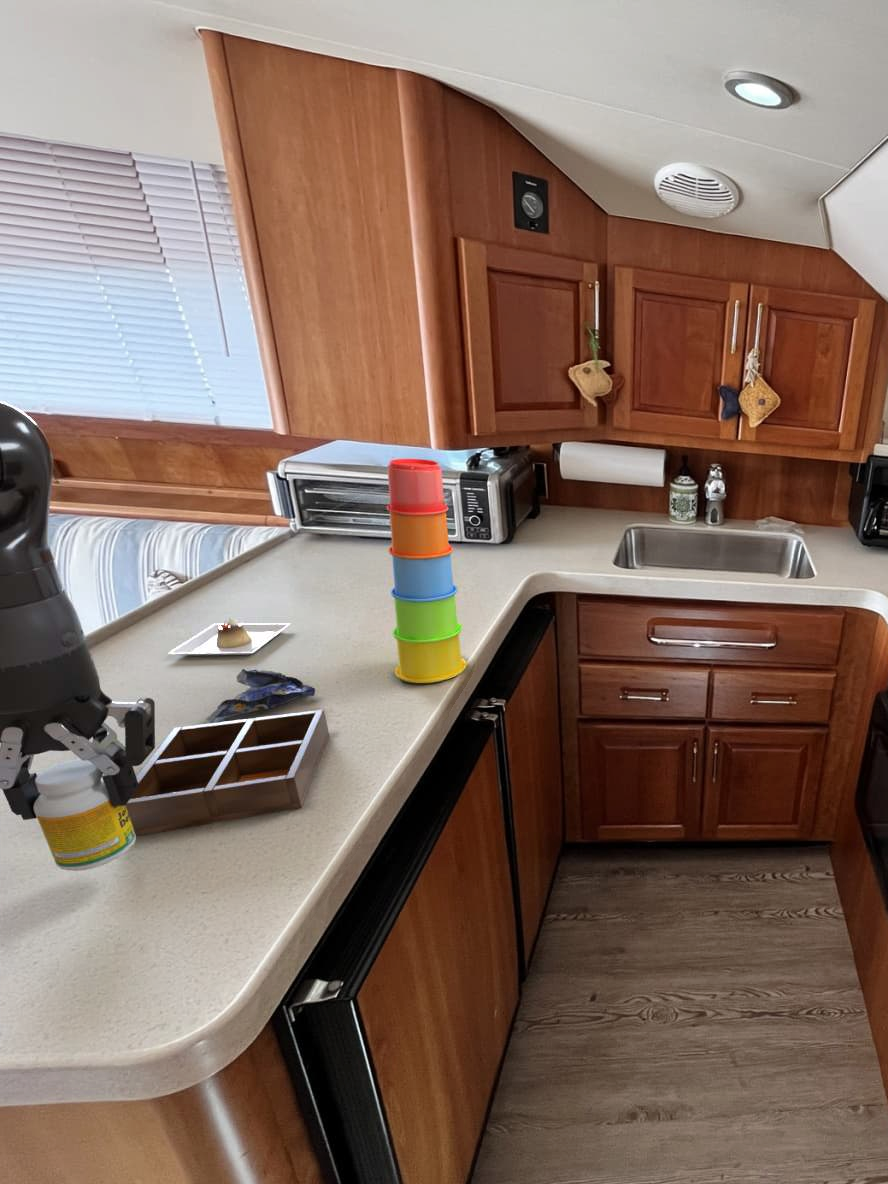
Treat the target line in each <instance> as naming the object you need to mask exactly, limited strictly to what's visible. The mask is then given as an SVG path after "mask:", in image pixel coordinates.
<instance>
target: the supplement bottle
mask: <svg viewBox="0 0 888 1184" xmlns="http://www.w3.org/2000/svg"><path fill="white" fill-rule="evenodd" d="M103 775H104V773H103V772H102V771H100V770H99V769H98V768H97V767H96V766H95V765H94V764H92V763H91V762H90V761H88V760H86V761H84V760H81V759H80V758H77V759H71V760H67V761H62V762H61V763H57V764H55V765H53V766H50V767H48V768H46V769H44V770H43V771H41V772H40V773H38V774H37V777H36V779H35V783H36V786H37V788H38V792H39V793H40V794H41V795H40V796H39V797H38V798H37V799H36V801H35V803H34V812H35V814H36V817H37V818H36V820H37V821H38V824H39V826H40V828H41V831H42V833H43V836H44V838H45V841H46V844H47V846H48V848H49V851H50V853H51V856H52V858H53V861H54V863H55V866H57V868H59V869H60V870H64V871H73V872H75V871H76V872H80V871H86V870H91V869H95V868H99V867H101V866H104V865H106V864H109V863H111V862H113V861H114V860H117V859H119V858H120V857H122V856H123V855H125V854H126V853H127V852H129V850H130V849H131V848H132V847H133V846H134V844H135V843H136V840H137V836H136V835H135V832H134V829H133V826H132V823H131V820H130V817H129V815H128V812H127V809H126V806H125V805H124V806H118V807H113V806H112V803H111V800H110V798H109V795H108V792H107V789H106V787H105V784H104V781H103V778H102V776H103Z"/></svg>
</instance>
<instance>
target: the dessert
mask: <svg viewBox="0 0 888 1184" xmlns="http://www.w3.org/2000/svg"><path fill="white" fill-rule="evenodd" d="M291 625H292V622H291V623H290V622H289V623H288V622H286V623H285V622H283V623H282V622H281V623H279V622H278V623H274V622H273V623H271V622H269V623H267V622H266V623H261V622H260V623H242V622H241V623H240V622H239V620H238V619H236V618H232V617H229V619H228V621H227V619H225V621H224V623H213V624H211V625H210V626H208V627H207V628H205V629H204V630H202V631H200V632H198V633H197V634H195V635H194V636H193V637H191V638H189V639H188V640H186V641H185V642H183V643H182V644H180V645H178V646H177V647H175V648H173V649H172V650H171V651H168V652H167V653H166V654H167V655H169V656H170V655H172V656H183V657H184V656H185V657H187V656H188V657H191V656H192V657H193V656H194V657H195V656H250V655H252V654H254V653H256V652H257V651H259V650H260V649H261V648H262V647H263V646H265V645H267V643H269V642H270V641H271V640H273V639H274V638H275V637H277V635H279V634H280V633H281V632H283V631H284V630H286V629H288V627H289V626H291Z"/></svg>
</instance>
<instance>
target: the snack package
mask: <svg viewBox="0 0 888 1184" xmlns="http://www.w3.org/2000/svg"><path fill="white" fill-rule="evenodd" d="M236 682H237V683H238V684H241V685H244V686H248V687H249V688H246V690H245V691H242V692H241V693H238V694H237V695H236V696H235V697H234V698H232V699H225V700H223V701H222V702H221V703H220V704H219V705H218V706H217V709H216V710H214V711H213V712H212V713H211V714H210V715H208V716H207V717H204V718H203V720H206V721H207V722H209V724H210V723H215V720H216V719H219V718H220V719H221V718H224V717H225V718H226V717H230V716H231V717H232V716H236V715H241V714H245V713H252V712H257V711H263V710H269V709H273V708H276V707H278V706H281V705H283V704H285V703H287V702H290V701H292V700H294V699H296V698H299V697H314V696H315V694H316V688H315V687H314V686H311V685H307V684H303V681H301V680H300V679H298V678H296V677H293V676H287V675H285V674H282V673H281V672H276V671H274V670H273V671H272V670H264V669H263V670H257V669H249V670H246V669H244V668H243V669H241V671H240V672H239V673H238V674H237V675H236ZM311 701H312V702H313V701H314V700H313V699H311Z"/></svg>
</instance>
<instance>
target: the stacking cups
mask: <svg viewBox="0 0 888 1184" xmlns="http://www.w3.org/2000/svg"><path fill="white" fill-rule="evenodd" d="M386 467H387V480H388V481H387V483H388V493H389V504H388V505H387V506H386V510H387V511H388V512H389V522H390V535H391V536H390V537H391V546H390V547H389V548H388V551H387V552H388V554H389V555H391V559H392V572H393V573H392V574H393V583H394V584H393V585H394V587H392V589H391V590H390V595H391V597H392V598H393V600H394V610H395V611H394V612H395V618H396V619H395V623H396V627H395V628H394V629H393V630H392V636H393V637H394V639H396V645H397V654H398V655H397V656H398V665H397V667H396V668H395V670H394V673H395V677H397V678H398V679H399V680H401V681H403V682H406V683H411V684H412V683H413V684H431V683H438V682H442V681H447V680H449V679H452V678H454V677H456V676H458V675H461V673H463V672H464V671H465V669H466V668H467V661H466V660H465V659H464V658H463V657H462V654H461V645H460V643H461V642H460V634H461V632H462V630H463V625H462V624H461V622H459V621H458V615H457V608H456V607H457V606H456V594H457V592H458V587H457V586H456V585H455V584H454V579H453V568H452V556H451V554H452V553H454V547H453V546H452V545H450V544H449V532H448V531H449V530H448V521H447V512H448V510H449V507H448V506H447V505H446V504H445V497H444V496H445V495H444V487H443V486H444V484H443V473H442V471H443V470H442V467H441V466H439V462H437V461H435V460H431V459H422V458H396V459H395V458H394V459H391V460H390V461H389V464H388V465H387V466H386Z"/></svg>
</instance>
